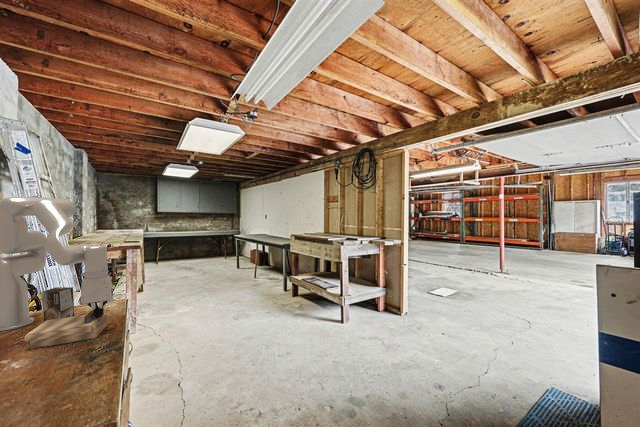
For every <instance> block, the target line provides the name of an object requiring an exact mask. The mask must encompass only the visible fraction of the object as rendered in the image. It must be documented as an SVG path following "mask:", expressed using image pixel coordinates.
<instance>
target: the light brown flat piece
mask: <svg viewBox="0 0 640 427" xmlns="http://www.w3.org/2000/svg"><path fill="white" fill-rule="evenodd" d="M104 314H106V313H105V311H104ZM74 316H75V317H68V318H60V319H53V320H46V321H45V322H44V321H43V322H41V324H39V325H38V326H36V327H35V328H34V329H32V330H31V331H29V332H28V333H27V334H25V336H24V342H25V343H26V342H30V341H33V340H39V339H46V338H52V337H59V336H65V335H71V334H78V333H84V332H91V326H92V325H93V324H94V323H95V322H96V321H97V320H98V319H99V318H95V316H94V311H93V309H92V310H90V311H89V312H88V313H87V314H83V315H74Z"/></svg>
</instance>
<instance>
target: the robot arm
mask: <svg viewBox="0 0 640 427" xmlns="http://www.w3.org/2000/svg"><path fill="white" fill-rule="evenodd" d="M75 212H76V207H75V205H74V203H73V202H72V201H71V200H68V199H67V198H66V199H65V198H57V197H55V198H54V197H47V196H46V197H44V196H42V197H41V196H10V197H5V198H3V199H0V253H2V254H4V255H11V256H4V257H0V332H5V331H10V330H15V329H19V328H22V327H26V326H28V325H30V324H33V322H35V318H34V317H33V316H30V305H29V303H30V302H29V290H28V283H27V281H25V279H23V278H22V277H21V276H25V275H30V274H34V273H37V272H41V271H42V270H43V269H44V268H45V267H46V263H47V262H46V261H47V253H48V254H49V255H50V257H51V258H52V259H53V261H54V262H55V263H57V264H58V265H60V266H70V265H73V264H75V265H77V264H80V263H83V264H84V272H81V273H80V277H84V279H82V281H81V286H80V303H81V306H87V307H89V308H91V309H92V310H93V311H94V316H95V318H100V317H101V316H102V315H103V314H104V312H105V310H104V306H106V305H107V304H109V303H112V302H113V301H114V299H115V298H114V287H113V282H112V278H111V275H109V267H108V265H109V264H108V251H107V250H108V249H107V246H106V245H104V244H92V243H90V244H89V243H82V244H77V245H70V246H69V245H68V246H65V245H64V243H63V242H62V240H61V238H60V237H62V236H63V235H65V234H67V233H69V232H70V231H71V230H72V229H73V227H74V223H73V222H72V221H71V219H70V217H72V216H74V214H75ZM31 216H34V217H36V219H37V220H38V221H39V222H40V224H41V225H42V226H43V227H44V230H46V231H47V233H48V234H47V236H46V234H44V233H43V232H42V231H40V230H39V231H38V230H32V231H31V230H28V227H29V226H28V224H29V223H28V221H27V220H26V218H25V217H31ZM20 253H24V254H20ZM12 254H16V255H12Z"/></svg>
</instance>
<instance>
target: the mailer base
mask: <svg viewBox="0 0 640 427" xmlns="http://www.w3.org/2000/svg"><path fill="white" fill-rule="evenodd" d="M108 324H109V322H108V313H105V314H103V315H102V316H101V317H100V318H99V319H98V320H97V321H96V322H95V323H94V324H93V325H92V326H91V332H84V333H78V334H71V335H65V336H59V337H52V338H46V339H39V340H33V341H29V346H30V350H33V349H39V348H43V347H50V346H56V345H57V346H58V345H61V344H63V345H64V344H68V343H74V342H81V341H82V342H83V341H86V340H92V339H93V340H94V339H97V337H98V336H99V335H100V333H102V332H103V331H104V329H105V328H106V327H107V326H108Z"/></svg>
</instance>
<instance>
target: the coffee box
mask: <svg viewBox="0 0 640 427" xmlns="http://www.w3.org/2000/svg"><path fill="white" fill-rule="evenodd" d="M41 297H42V298H41V299H42V300H41V302H42V312H43V323H44V322H45V321H46V320H53V319H60V318H68V317H75V316H76V315H75V302H74V287H66V286H65V287H61V286H59V287H53V288H50V289H47V290H43V291H41Z"/></svg>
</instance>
